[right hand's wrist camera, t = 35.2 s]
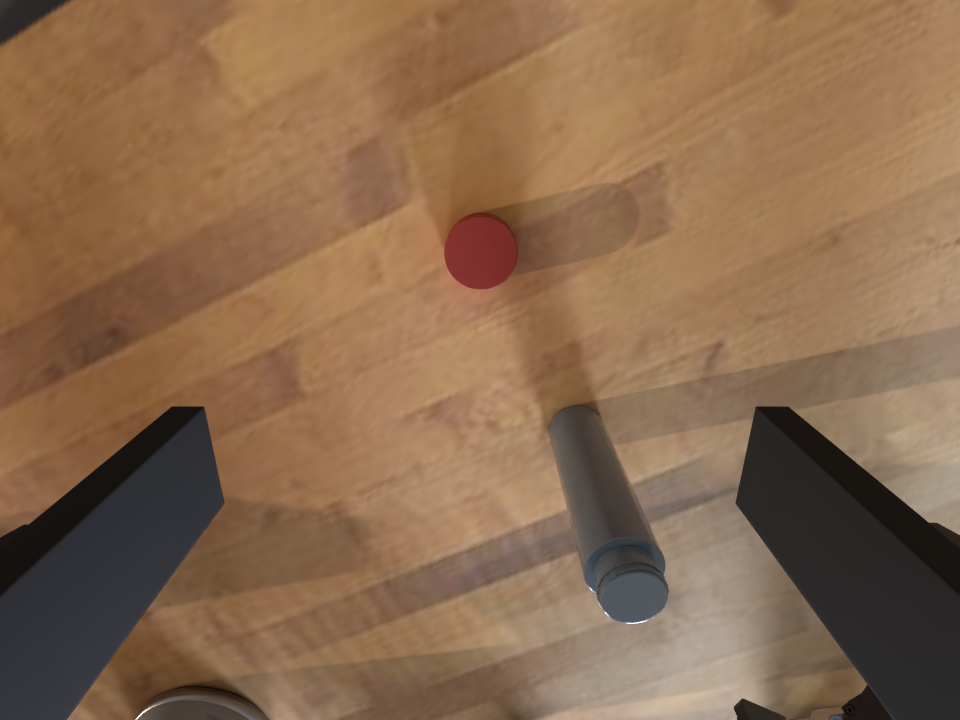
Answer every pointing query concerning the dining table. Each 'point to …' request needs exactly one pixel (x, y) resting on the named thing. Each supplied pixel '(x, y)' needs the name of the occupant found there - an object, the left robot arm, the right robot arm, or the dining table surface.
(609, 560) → the grey cylinder
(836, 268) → the dining table surface
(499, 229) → the lid
